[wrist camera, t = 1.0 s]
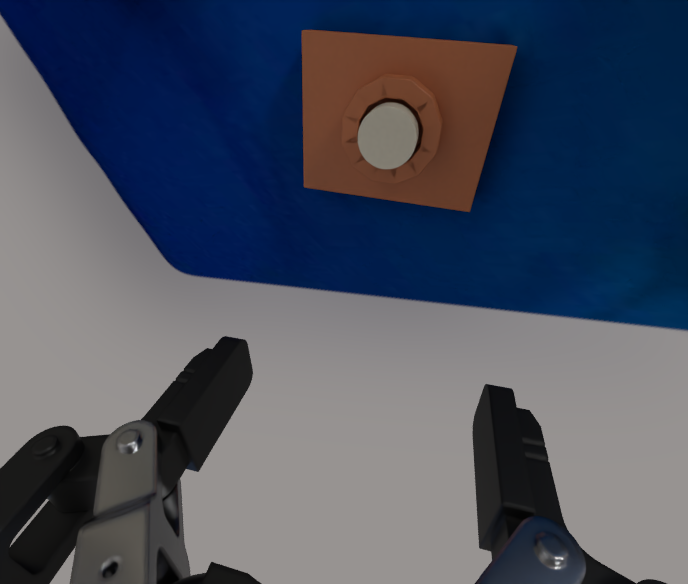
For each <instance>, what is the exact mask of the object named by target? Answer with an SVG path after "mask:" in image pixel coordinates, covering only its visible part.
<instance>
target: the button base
mask: <svg viewBox="0 0 688 584" xmlns="http://www.w3.org/2000/svg"><path fill="white" fill-rule="evenodd" d="M516 51H517V46H514V45H507V44H493V43H480V42H467V41H454V40H441V39H427V38H414V37H401V36H388V35H375V34H361V33H348V32H335V31H322V30H302V88H303V158H304V188H311V189H318V190H325V191H331V192H338V193H345V194H351V195H358V196H365V197H372V198H378V199H385V200H392V201H398V202H405V203H412V204H419V205H425V206H432V207H439V208H445V209H452V210H459V211H466V212H470V210H471V206H472V203H473V199H474V196H475V192H476V189H477V185H478V182H479V178H480V175H481V172H482V168H483V165H484V161H485V158H486V154H487V151H488V147H489V144H490V141H491V137H492V134H493V130H494V127H495V123H496V120H497V116H498V113H499V110H500V106H501V103H502V99H503V96H504V92H505V89H506V85H507V82H508V79H509V75H510V72H511V68H512V65H513V61H514V58H515V54H516ZM386 102H396V103H400V104H402V105H404V106H406V107H407V108H409V109H410V110H411V111H412V113H413V114H414V116H415V117H416V120H417V123H418V127H419V136H418V141H417V144H416V147H415V150H414V152H413V154H412V156H411V157H410V158H409V159H408V161H407V162H405V163H404V164H403V165H401V166H399V167H397V168H394V169H380V168H377V167H375V166H373V165H371V164H370V163H368V162H367V161H366V160H365V158H364V157H363V156H362V154H361V152H360V149H359V146H358V131H359V127H360V125H361V123H362V121H363V119H364V118H365V117H366V116H367V115H368V114H369V113H370V112H371V110H372V109H374V108H375V107H376V106H378V105H380V104H382V103H386Z"/></svg>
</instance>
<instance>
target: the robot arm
mask: <svg viewBox="0 0 688 584" xmlns="http://www.w3.org/2000/svg"><path fill="white" fill-rule="evenodd" d="M252 374H253V371H252V364H251V359H250V354H249V349H248V344H247V342H246V340H243V339H238V338H232V337H226V336H225V337H222V338H221V339H220V340H219V342H218V343H217V344H216V345H215V347H214V348H213V349H209V348H207V349H205V350H204V351H202V352H201V353H199V354H198V355H196V356H195V357H193V359H192V360H191V361H190V362H189V363H188V365H187V366H186V367H185V368H184V371H182V372H181V373H180V374H179V375H178V377H177V378H176V381H173V383H172V384H171V385H170V386H169V387H168V389H167V390H166V391H165V392H164V393H163V395H162V396H161V397H160V398H159V399H158V401H157V402H156V403H155V404H154V405H153V407H152V408H151V409H150V410H149V411H148V412H147V414H146V415H145V416H144V417H143V418H142V419H141V420H137V421H132V422H129V423H126V424H124V425H122V426H121V427H119V428H117V429H116V430H115V431H114V432H112V433H111V434H110V435H99V436H87V437H79V435H78V434H77V432H76V431H75V430H74V429H73V428H72V427H69V426H57V427H53V428H49V429H47V430H45V431H43V432H41V433H39V434H37V435H36V436H34V437H33V438H31V439H30V440H29V441H28V442H27V443H26V444H25V445H24V446H23V447H22V448H21V449H20V450H19V451H18V452H17V453H16V454H15V455H14V456H13V457H12V458H11V459H10V460H9V461H8V462H7V463H6V464H5V465H4V466H3V467H2V468H1V469H0V584H49V583H50V582H51V581H52V579H53V578H54V576H55V575H56V573H57V572H58V571H59V569H60V568H61V566H62V565H63V563H64V562H65V560H66V559H67V558H68V556H69V555H70V553H71V552H72V551H73V549H74V548H75V546H76V549H75V555H74V562H73V567H72V573H71V579H70V584H261V583H260V582H258V581H257V580H256V579H254V578H253V577H252V576H250V575H249V574H248V573H244V572H241V571H238V570H235V569H232V568H229V567H226V566H223V565H220V564H216V563H213V562H211V564H210V566H209V568H208V570H207V572H206V573H202V574H197V575H192V576H190V567H189V561H188V556H187V553H186V549H185V544H184V532H183V513H182V495H181V481H180V477H181V476H182V474H183V472H184V471H185V469H189V470H193V471H197V472H198V471H199V470H200V468H201V467H202V465H203V463H204V462H205V460H206V458H207V457H208V455H209V453H210V451H211V450H212V448H213V446H214V445H215V443H216V441H217V440H218V438H219V436H220V435H221V433H222V431H223V430H224V428H225V426H226V425H227V423H228V421H229V420H230V418H231V416H232V415H233V413H234V411H235V410H236V408H237V406H238V405H239V403H240V401H241V399H242V398H243V396H244V395H245V393H246V391H247V389H248V388H249V386H250V383H251V380H252ZM473 447H474V448H473V449H474V466H475V483H476V500H477V516H478V533H479V534H478V535H479V548H481V549H484V550H488V551H491V553H492V562H491V563H490V564H489V566H488V567H487V568H486V570H485V571H484V572H483V574H482V575H481V576H480V578H479V579H478V580H477V582H476V583H475V584H636V583H635V582H633V581H631V580H629V579H628V578H626V577H624V576H622V575H620V574H619V573H617V572H615V571H614V570H612V569H610V568H608V567H607V566H605V565H603V564H601V563H600V562H598V561H597V560H595V559H593V558H592V557H591V556H590V555H588V554H587V553H586V552H585V551H584V550H583V549H582V548H581V547H580V546H579V544H578V543H577V541H576V540H575V539H574V537H573V536H572V535H571V534H570V533H569V531H568V530H567V528H566V525H565V523H564V520H563V517H562V513H561V509H560V505H559V501H558V497H557V492H556V488H555V484H554V480H553V476H552V472H551V467H550V463H549V462H548V455H547V451H546V448H545V442H544V438H543V434H542V430H541V426H540V425H539V423H538V422H537V420H536V419H535V417H534V416H533V414H532V413H531V412H530V410H526V409H520V408H517V407H516V402H515V397H514V392H513V390H512V389H510V388H505V387H500V386H494V385H488V384H486V385H485V386H484V389H483V392H482V395H481V398H480V401H479V404H478V406H477V409H476V412H475V416H474V421H473ZM46 499H48V500H49V501H48V502H47V503H46V504H45V506H44V507H43V508H42V509H41V511H40V512H39V513H38V514H37V515H36V517H35V518H34V519H33V520H32V521H31V523H30V524H29V525H28V526H27V527H26V529H25V530H24V531H23V532H22V533H21V535H20V536H19V537H18V538H17V539H16V541H15V542H14V543H13V544H12V545H11V547H10V544H11V542H12V540H13V539H14V537H15V536H16V535H17V533H18V532H19V531H20V530H21V529H22V527H23V526H24V525H25V524H26V523H27V521H28V520H29V519H30V518H31V517H32V515H33V514H34V513H35V512H36V511H37V509H38V508H39V507H40V506H41V505H42V503H43V502H44V501H45V500H46ZM9 547H10V548H9ZM637 584H666V583H664V582H661V581H657V580H651V579H647V580H642V581H640V582H638V583H637Z"/></svg>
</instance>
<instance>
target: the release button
mask: <svg viewBox="0 0 688 584" xmlns="http://www.w3.org/2000/svg"><path fill="white" fill-rule="evenodd" d="M418 136H419V127H418V123H417V120H416V117H415V116H414V114H413V113H412V111H411V110H410V109H409V108H407V107H406V106H404V105H402V104H400V103H396V102H386V103H382V104H380V105H378V106H376V107H375V108H374V109H372V110H371V112H370V113H369V114H368V115H367V116H366V117H365V118H364V119H363V121H362V123H361V125H360V127H359V131H358V146H359V149H360V152H361V154H362V156H363V157H364V158H365V160H366V161H367V162H368V163H370V164H371V165H373V166H375V167H377V168H380V169H394V168H397V167H399V166H401V165H403V164H404V163H405V162H407V161H408V159H409V158H410V157H411V156H412V154H413V152H414V150H415V147H416V144H417V141H418Z"/></svg>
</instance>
